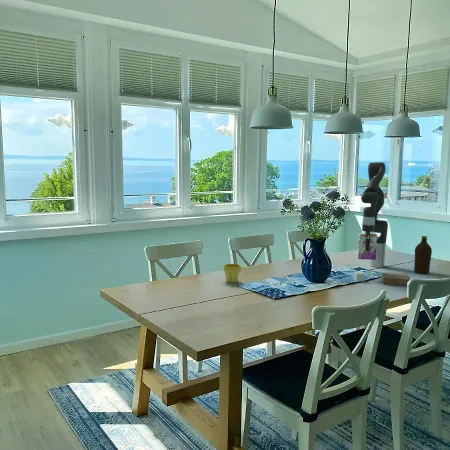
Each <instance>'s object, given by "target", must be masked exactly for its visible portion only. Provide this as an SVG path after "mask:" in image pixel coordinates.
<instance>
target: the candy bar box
mask: <svg viewBox="0 0 450 450" xmlns="http://www.w3.org/2000/svg"><path fill="white" fill-rule="evenodd" d="M370 236H371V241H370V245H369V251H366V250H365V249H366V241H365V238H366V233H365V232H358V235H357V237H358V239H357V251H356V252H357V253H356V258H357V260H370V261H371V260H376V249H377V237H378V233H372V232H370ZM367 243H369V241H367Z"/></svg>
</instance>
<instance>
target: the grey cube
mask: <svg viewBox="0 0 450 450" xmlns="http://www.w3.org/2000/svg"><path fill="white" fill-rule="evenodd" d="M353 273H354V274H353V281H355V282H365V276H366V273H364V272H363V271H354V272H353Z"/></svg>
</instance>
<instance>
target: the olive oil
mask: <svg viewBox="0 0 450 450" xmlns="http://www.w3.org/2000/svg"><path fill="white" fill-rule="evenodd" d="M432 253H433V250H432V247H431V245H430V244H429V243H428V236H426V235H422V236H421V240H420V242H419V243H418V244H416V246H415V247H414V265H413V267H414V268H413V272H414V273H415V274H419V275H429V274H430V267H431V260H432V255H433V254H432Z"/></svg>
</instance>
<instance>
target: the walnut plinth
mask: <svg viewBox="0 0 450 450" xmlns="http://www.w3.org/2000/svg"><path fill="white" fill-rule="evenodd" d="M380 278H381V282H382V285H386V286H399V285H402V286H401V287H403V286H404V287H408V286H407V282H408V281H409V280H410V279H411V280H412V278H411V276H410V275H409V274H406V273H405V274H404V273H392V272H381V277H380Z"/></svg>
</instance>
